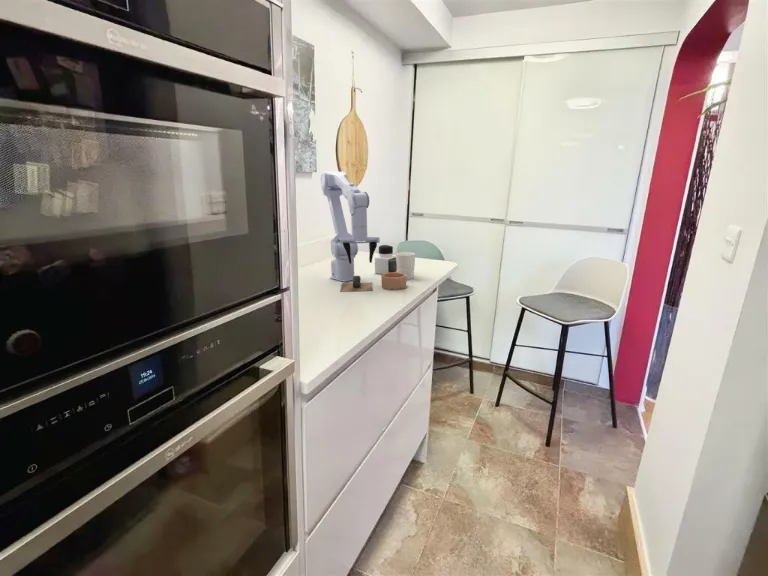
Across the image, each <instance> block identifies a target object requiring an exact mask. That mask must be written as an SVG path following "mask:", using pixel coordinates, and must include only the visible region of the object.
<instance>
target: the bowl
mask: <svg viewBox="0 0 768 576" xmlns="http://www.w3.org/2000/svg"><path fill="white" fill-rule="evenodd" d="M380 275H381V280H380V281H381V288H382V287H383V289H384V288H385V290H391V289H396V290H402V288H403V289H405V288H407V279H406V274H404V273H399V272H392V273H385V274H380Z"/></svg>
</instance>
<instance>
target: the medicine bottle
mask: <svg viewBox="0 0 768 576" xmlns="http://www.w3.org/2000/svg"><path fill="white" fill-rule="evenodd" d="M393 251H394V247H393V245H390V244H382V245H379V246H378V255H377V256H375V257H374V273H375V274H376V273H377V274H379V275H381V274H385V273H392V272H397V265H396V255H393V254H394V252H393ZM377 274H376V275H377Z"/></svg>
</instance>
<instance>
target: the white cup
mask: <svg viewBox="0 0 768 576" xmlns="http://www.w3.org/2000/svg"><path fill="white" fill-rule="evenodd" d="M395 256H396V265H397V272H399V273H404V274H406V280H411V279H413V278H414V276H415V265H416V253H415V252H410V251H401V252H396V253H395Z"/></svg>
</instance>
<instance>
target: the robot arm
mask: <svg viewBox="0 0 768 576" xmlns="http://www.w3.org/2000/svg"><path fill="white" fill-rule="evenodd" d="M320 186H321V190H322V194H323V195H324V196H325V197H327V202H328V206H329V210H330V215H331V220H332V223H333V229H334V233H335V235H334V236H333V237H332V238H331V240H330V250H331V255H332V256H333V258H332V259H331V262H330V269H331V273H330V274H331V276H330V277H329V279H331V280H336V281H341V282H343V283H347V282H350V281H353V278H352V277H353V276H355V258H356V256H357V255H358V252H359V245H358V244H368V249H369V258H368V260H369V263H371V264H372V263H373V257H374V253H375V251H376V248H377V246H378V244H380V239H381V238H380V237H379V236H368V213H367V211H368V208H369V206H370V196H369V194H368V192H367V191H361V190H360V189H359V188H358V187H357V186H356V185H355V183H354V182H350V181H348V175H347V173H346V172H345V171H343V170H342V171H322V172H321V174H320ZM341 196H343V197H344V198H345V199H346V200H347V204H348V209H349V214H350V219H351V234H350V233H349V232H348V228H347V224H346V219H345V215H344V211H343V206H342V202H341Z"/></svg>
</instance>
